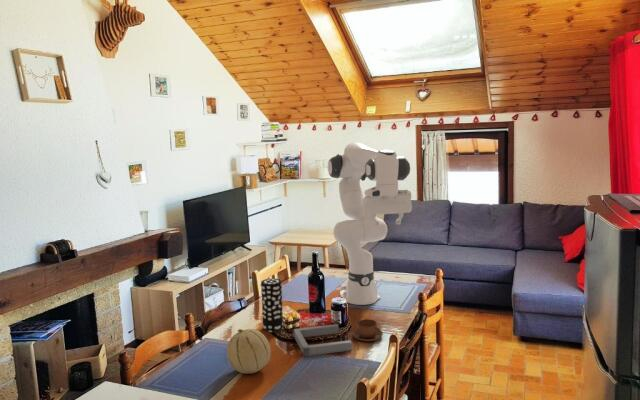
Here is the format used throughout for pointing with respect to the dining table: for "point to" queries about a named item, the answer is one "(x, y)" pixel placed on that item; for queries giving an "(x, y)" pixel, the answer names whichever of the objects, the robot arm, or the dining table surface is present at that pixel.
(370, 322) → the cup and saucer
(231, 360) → the cantaloupe
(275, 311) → the white-spotted black cylinder
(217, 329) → the dining table surface
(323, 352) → the grey u-shaped bar
